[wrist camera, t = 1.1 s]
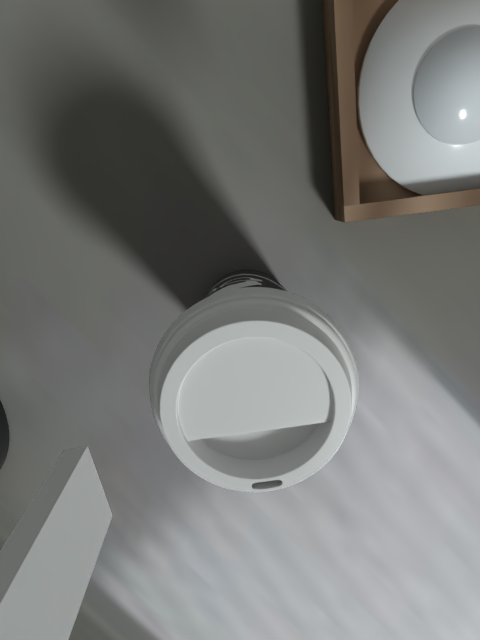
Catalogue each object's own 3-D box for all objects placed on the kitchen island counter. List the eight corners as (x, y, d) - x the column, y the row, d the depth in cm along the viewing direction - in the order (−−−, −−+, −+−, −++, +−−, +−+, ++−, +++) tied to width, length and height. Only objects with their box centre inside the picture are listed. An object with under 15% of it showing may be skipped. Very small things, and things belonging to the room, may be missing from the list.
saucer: (360, 210, 28) (364, 210, 27) (352, -18, 24) (355, -25, 23) (555, 185, 28) (564, 185, 27) (577, -50, 24) (588, -58, 23)
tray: (334, 219, 29) (344, 222, 27) (321, -14, 25) (331, -39, 23) (563, 190, 29) (597, 189, 26) (587, -52, 25) (630, -82, 22)
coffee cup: (173, 355, 32) (121, 485, 18) (198, 234, 30) (162, 272, 15) (290, 381, 33) (332, 526, 19) (326, 266, 30) (406, 330, 16)
